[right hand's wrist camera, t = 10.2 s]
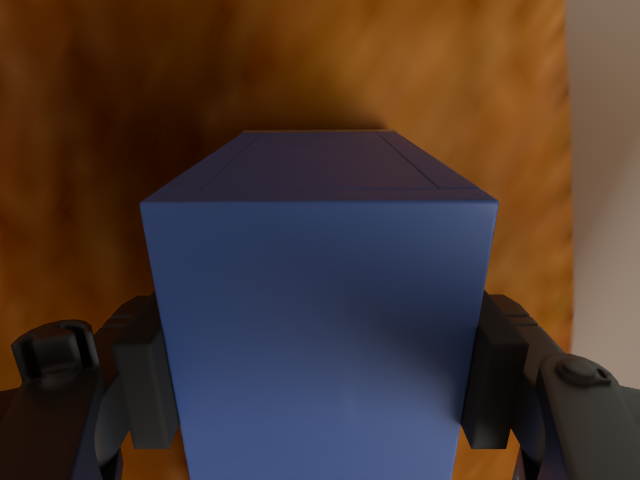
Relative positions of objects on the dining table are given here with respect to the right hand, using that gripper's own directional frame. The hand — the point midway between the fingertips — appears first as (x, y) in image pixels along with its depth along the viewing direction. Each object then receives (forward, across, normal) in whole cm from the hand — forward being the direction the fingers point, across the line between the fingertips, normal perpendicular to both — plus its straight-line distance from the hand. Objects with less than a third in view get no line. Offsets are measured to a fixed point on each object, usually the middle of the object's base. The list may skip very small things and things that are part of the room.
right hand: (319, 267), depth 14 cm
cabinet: (+5, 0, -4) cm, 7 cm away
